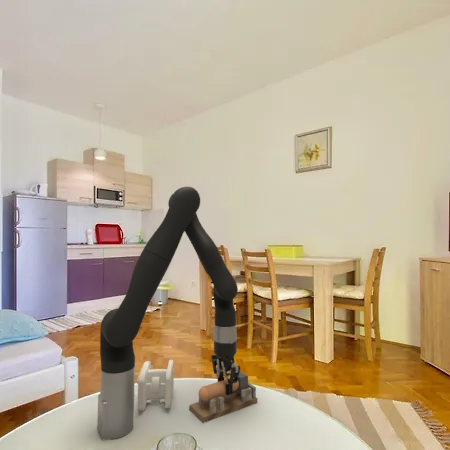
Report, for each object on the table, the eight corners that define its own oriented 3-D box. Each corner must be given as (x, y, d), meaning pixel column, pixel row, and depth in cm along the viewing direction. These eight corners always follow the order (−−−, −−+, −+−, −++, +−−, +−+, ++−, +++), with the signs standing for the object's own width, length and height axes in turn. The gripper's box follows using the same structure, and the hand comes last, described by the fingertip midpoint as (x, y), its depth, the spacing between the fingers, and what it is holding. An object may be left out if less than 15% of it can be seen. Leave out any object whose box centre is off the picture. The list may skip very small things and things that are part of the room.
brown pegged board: (202, 422, 91) (202, 405, 91) (189, 409, 98) (189, 393, 99) (257, 402, 103) (257, 387, 103) (241, 392, 110) (241, 377, 110)
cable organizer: (170, 414, 96) (171, 375, 96) (135, 415, 95) (136, 376, 95) (173, 391, 111) (174, 357, 111) (143, 392, 110) (144, 358, 110)
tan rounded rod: (202, 404, 94) (202, 389, 94) (195, 398, 97) (195, 384, 98) (248, 389, 104) (248, 375, 104) (240, 384, 107) (240, 371, 108)
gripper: (204, 335, 106) (204, 386, 105) (228, 346, 94) (228, 404, 93) (222, 331, 110) (222, 380, 109) (247, 342, 98) (247, 397, 97)
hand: (225, 391), depth 101 cm, fingers closed on tan rounded rod, 4 cm apart
